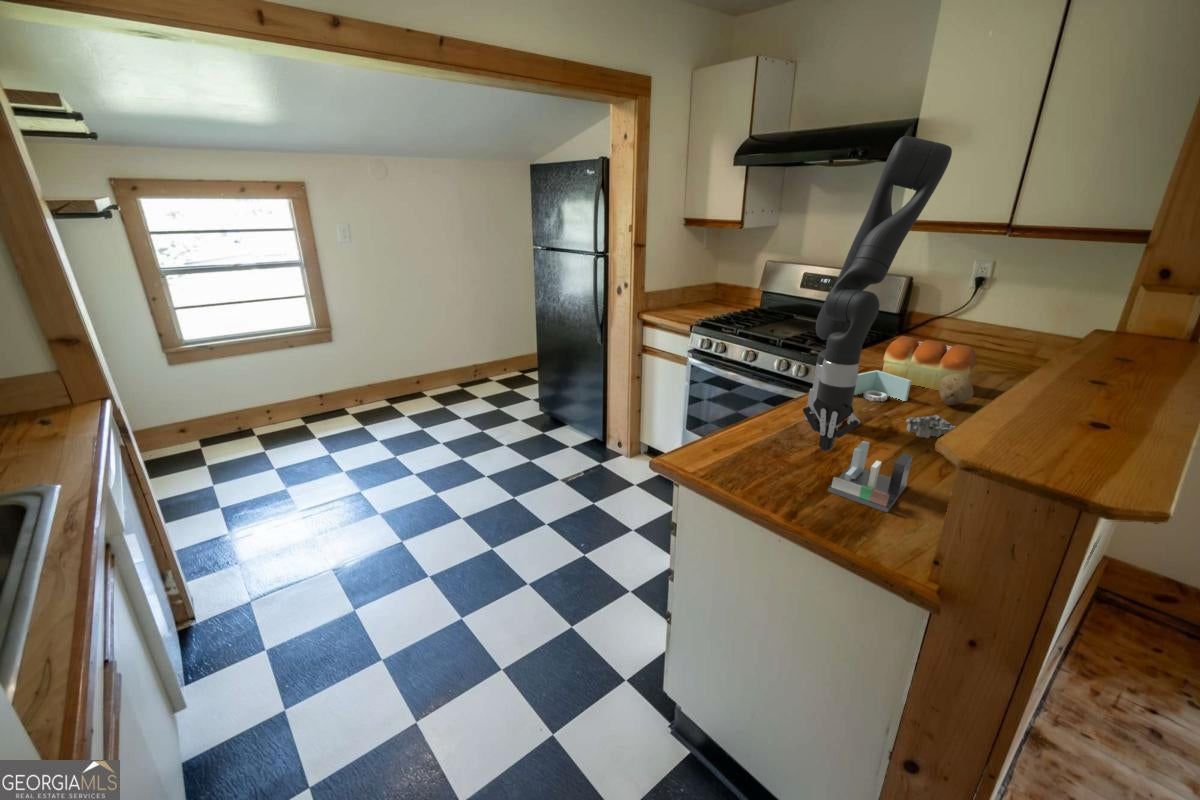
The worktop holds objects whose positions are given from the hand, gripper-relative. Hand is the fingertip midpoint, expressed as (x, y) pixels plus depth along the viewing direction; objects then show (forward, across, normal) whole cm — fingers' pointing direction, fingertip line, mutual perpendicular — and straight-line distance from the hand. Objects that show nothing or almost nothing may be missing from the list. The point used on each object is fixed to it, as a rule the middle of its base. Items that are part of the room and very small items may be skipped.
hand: (825, 449), depth 121 cm
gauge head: (+3, -8, +2) cm, 9 cm away
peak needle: (+3, -13, +7) cm, 15 cm away
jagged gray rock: (+5, -13, -41) cm, 43 cm away
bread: (+5, -2, -86) cm, 86 cm away
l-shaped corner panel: (+6, +5, -59) cm, 59 cm away
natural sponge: (+5, -14, -68) cm, 70 cm away
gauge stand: (+5, -11, +3) cm, 12 cm away
